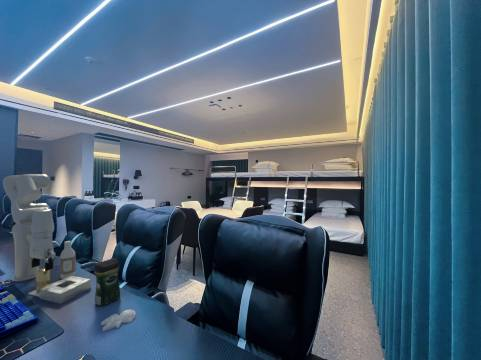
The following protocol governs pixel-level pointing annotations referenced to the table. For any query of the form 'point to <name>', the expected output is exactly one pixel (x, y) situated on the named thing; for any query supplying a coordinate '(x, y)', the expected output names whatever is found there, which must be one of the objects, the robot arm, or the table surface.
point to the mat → (34, 293)
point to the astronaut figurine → (118, 319)
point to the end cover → (42, 279)
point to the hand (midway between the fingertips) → (42, 268)
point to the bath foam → (67, 261)
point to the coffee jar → (107, 282)
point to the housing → (64, 289)
